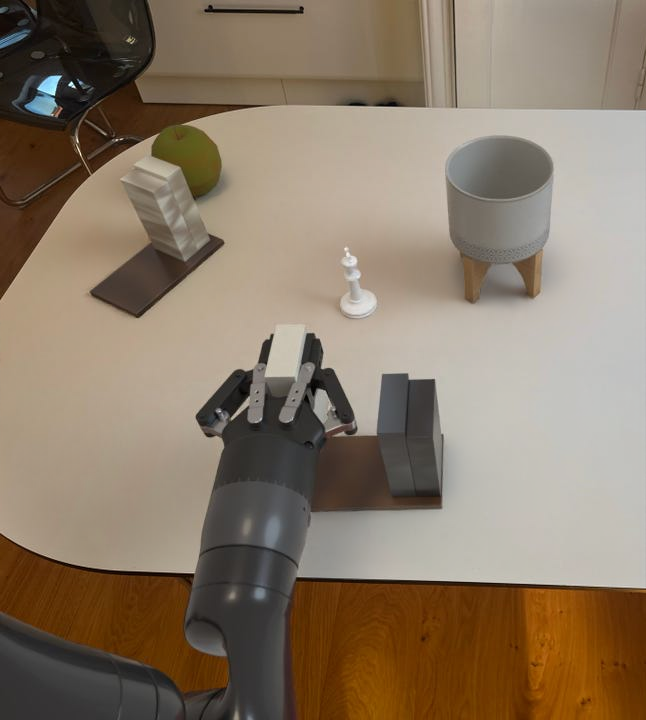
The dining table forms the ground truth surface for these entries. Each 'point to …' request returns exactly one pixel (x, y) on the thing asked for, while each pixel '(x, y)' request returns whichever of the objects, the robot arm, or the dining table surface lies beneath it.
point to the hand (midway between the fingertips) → (294, 339)
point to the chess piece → (355, 291)
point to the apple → (190, 156)
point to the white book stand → (158, 238)
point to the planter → (499, 207)
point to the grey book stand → (387, 455)
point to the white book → (290, 365)
